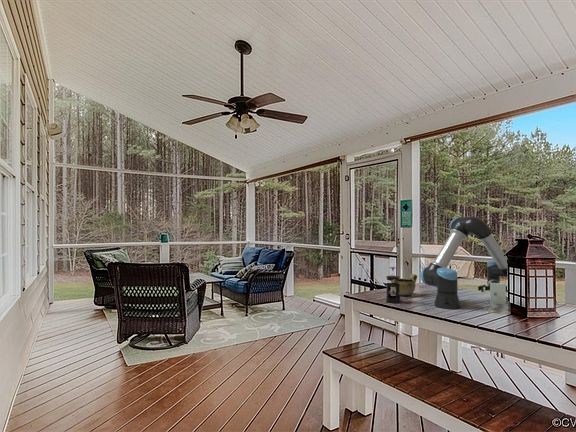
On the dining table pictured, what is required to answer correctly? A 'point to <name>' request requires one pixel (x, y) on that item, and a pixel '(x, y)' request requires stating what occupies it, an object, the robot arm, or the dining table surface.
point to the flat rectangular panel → (498, 293)
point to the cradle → (499, 308)
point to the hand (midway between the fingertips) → (496, 291)
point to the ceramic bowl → (405, 285)
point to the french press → (393, 298)
